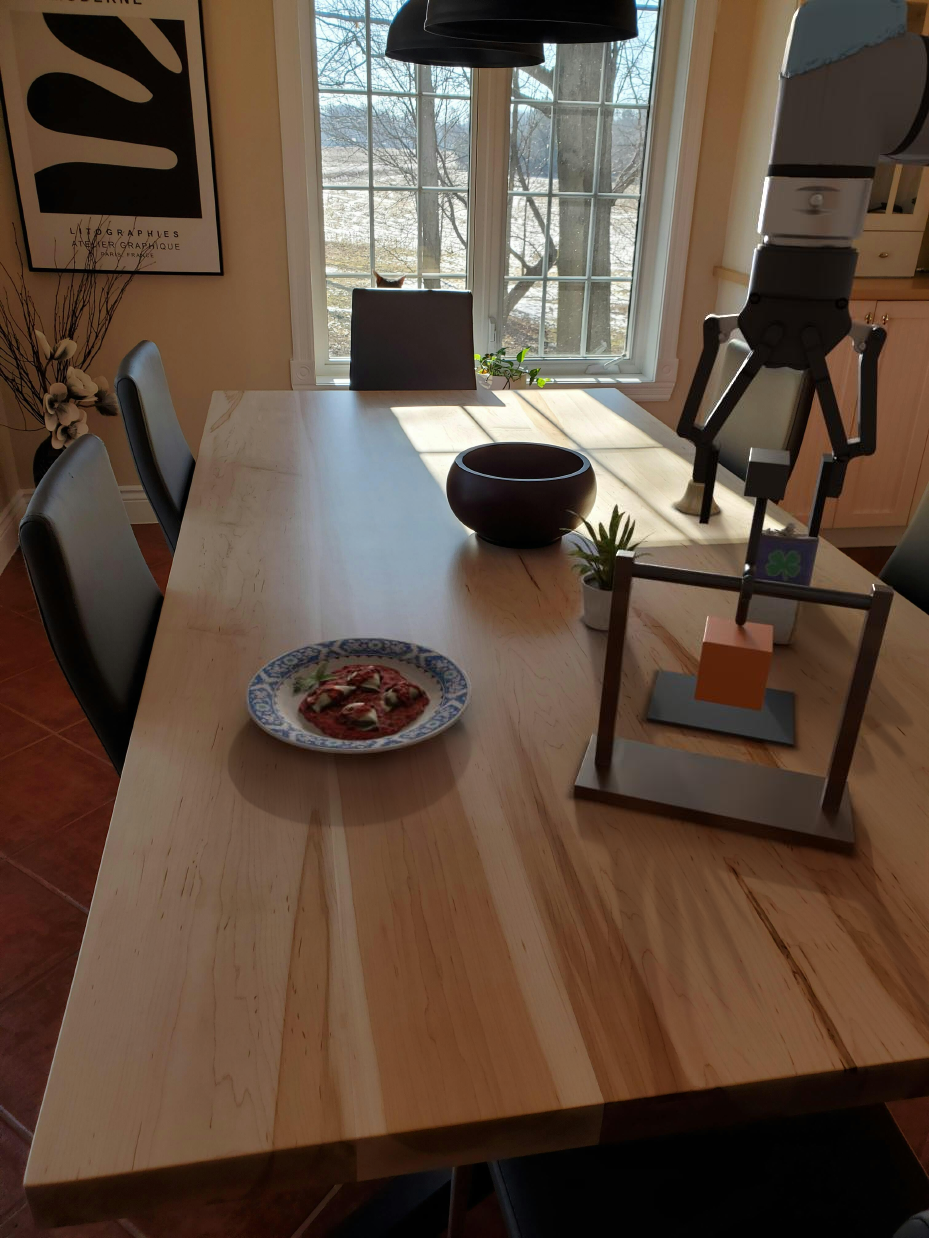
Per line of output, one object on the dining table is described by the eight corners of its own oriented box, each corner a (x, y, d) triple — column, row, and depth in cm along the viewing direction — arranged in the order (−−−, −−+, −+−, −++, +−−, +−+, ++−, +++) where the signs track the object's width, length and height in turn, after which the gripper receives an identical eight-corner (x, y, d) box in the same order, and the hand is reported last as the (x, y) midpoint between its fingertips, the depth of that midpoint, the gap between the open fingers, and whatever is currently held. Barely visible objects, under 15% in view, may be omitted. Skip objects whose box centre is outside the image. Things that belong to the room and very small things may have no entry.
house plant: (550, 594, 134) (558, 488, 127) (644, 600, 133) (657, 494, 126) (548, 637, 121) (557, 522, 114) (652, 644, 120) (667, 529, 113)
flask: (807, 588, 138) (820, 522, 134) (810, 595, 136) (824, 529, 131) (745, 582, 140) (756, 517, 135) (747, 590, 137) (759, 524, 132)
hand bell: (695, 518, 167) (707, 433, 160) (665, 505, 173) (676, 422, 166) (728, 511, 170) (741, 428, 163) (698, 499, 177) (710, 418, 170)
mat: (792, 694, 109) (793, 691, 109) (793, 747, 98) (793, 744, 98) (659, 672, 113) (659, 669, 113) (646, 720, 103) (646, 717, 103)
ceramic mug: (793, 655, 118) (804, 602, 115) (729, 644, 120) (738, 591, 117) (796, 624, 127) (806, 573, 124) (736, 614, 129) (745, 564, 126)
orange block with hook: (762, 681, 87) (806, 451, 77) (761, 711, 81) (808, 468, 72) (699, 671, 88) (734, 444, 79) (693, 699, 83) (731, 460, 74)
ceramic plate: (517, 706, 105) (518, 684, 103) (342, 801, 88) (340, 776, 87) (374, 633, 121) (373, 613, 120) (203, 701, 104) (200, 678, 103)
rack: (845, 793, 91) (902, 570, 80) (851, 855, 83) (916, 615, 72) (591, 744, 98) (613, 533, 87) (573, 797, 89) (594, 570, 79)
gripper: (660, 238, 68) (629, 523, 77) (970, 251, 62) (893, 557, 72) (671, 234, 74) (641, 498, 84) (952, 245, 68) (884, 527, 78)
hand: (757, 525), depth 78 cm, fingers open, 8 cm apart
